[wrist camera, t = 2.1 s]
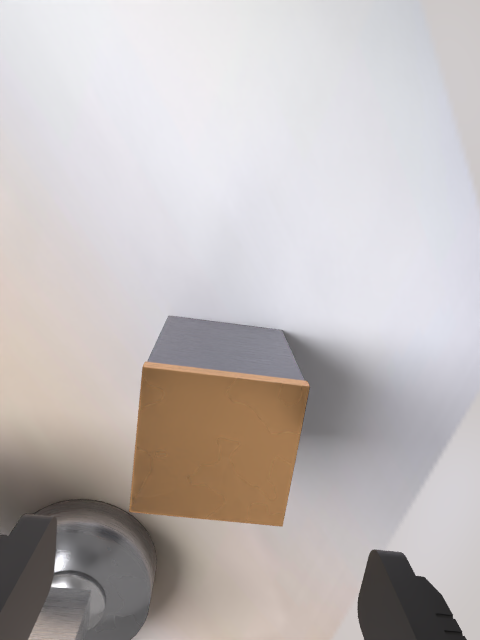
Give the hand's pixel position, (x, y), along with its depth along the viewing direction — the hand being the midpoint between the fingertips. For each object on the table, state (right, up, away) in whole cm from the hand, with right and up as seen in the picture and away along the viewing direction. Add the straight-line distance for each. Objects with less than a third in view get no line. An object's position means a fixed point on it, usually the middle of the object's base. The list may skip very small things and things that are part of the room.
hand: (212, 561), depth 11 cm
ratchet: (-9, -14, +16) cm, 22 cm away
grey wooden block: (0, +3, +11) cm, 12 cm away
